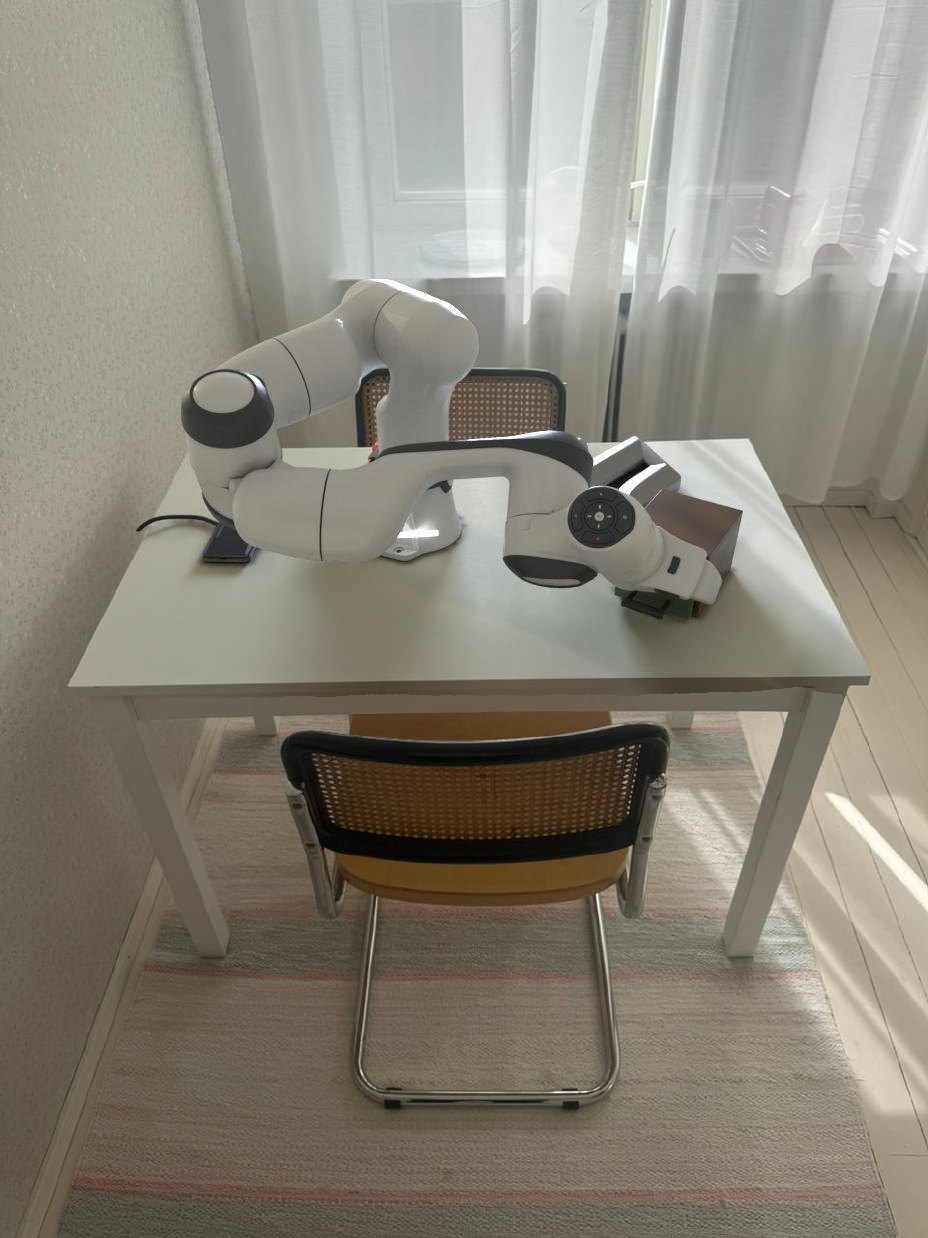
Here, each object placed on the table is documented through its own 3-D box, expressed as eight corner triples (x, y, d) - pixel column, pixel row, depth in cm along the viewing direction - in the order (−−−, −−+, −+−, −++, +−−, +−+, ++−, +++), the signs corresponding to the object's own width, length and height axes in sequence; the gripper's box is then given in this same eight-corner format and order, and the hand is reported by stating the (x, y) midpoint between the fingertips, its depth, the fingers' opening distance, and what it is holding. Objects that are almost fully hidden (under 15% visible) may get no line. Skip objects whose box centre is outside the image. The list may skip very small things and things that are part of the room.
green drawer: (677, 636, 115) (686, 584, 110) (602, 609, 120) (607, 558, 115) (720, 574, 126) (730, 525, 121) (649, 553, 131) (656, 504, 126)
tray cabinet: (697, 617, 120) (709, 556, 113) (616, 590, 125) (623, 530, 119) (730, 569, 129) (743, 510, 122) (654, 546, 135) (662, 488, 128)
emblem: (533, 421, 159) (683, 431, 155) (532, 446, 163) (679, 457, 158) (510, 493, 138) (683, 508, 133) (510, 521, 141) (678, 537, 137)
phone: (271, 508, 144) (248, 556, 132) (272, 513, 145) (249, 562, 133) (226, 507, 144) (199, 555, 133) (227, 513, 145) (201, 561, 133)
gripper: (548, 552, 109) (578, 576, 121) (699, 602, 100) (714, 623, 112) (566, 507, 109) (594, 536, 121) (719, 553, 100) (731, 579, 112)
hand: (653, 578), depth 117 cm, fingers closed, pressing on green drawer
